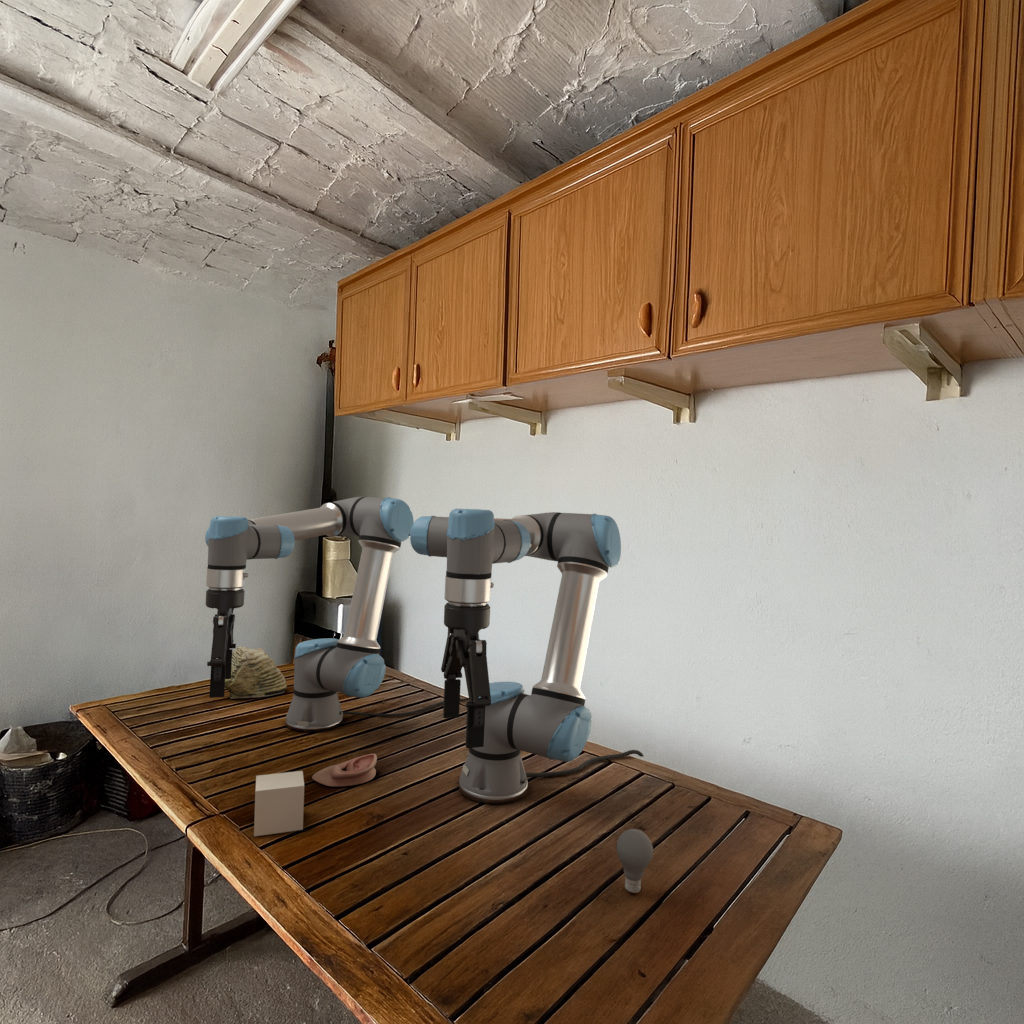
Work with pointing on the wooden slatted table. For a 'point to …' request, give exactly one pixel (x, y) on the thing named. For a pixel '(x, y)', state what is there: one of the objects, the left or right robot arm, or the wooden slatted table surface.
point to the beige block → (279, 803)
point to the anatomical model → (348, 772)
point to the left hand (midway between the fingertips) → (220, 687)
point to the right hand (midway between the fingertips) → (462, 731)
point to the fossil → (254, 675)
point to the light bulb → (634, 857)
